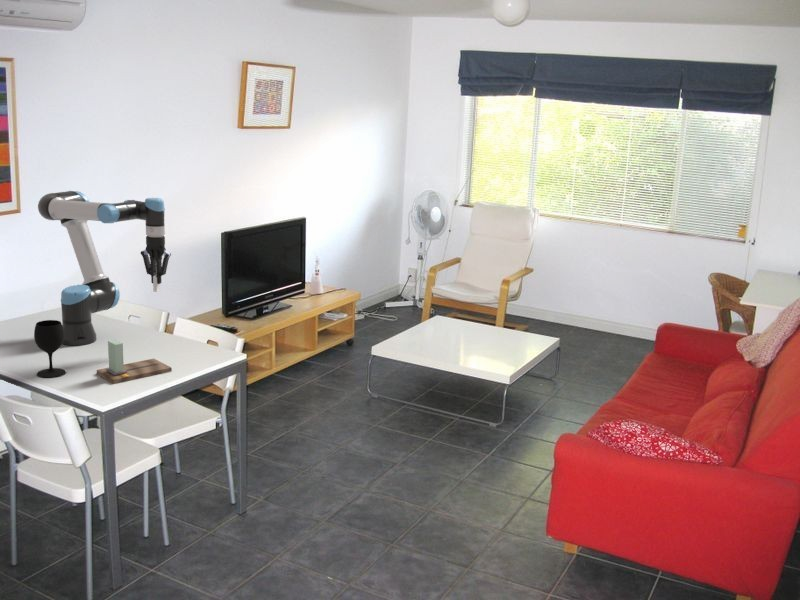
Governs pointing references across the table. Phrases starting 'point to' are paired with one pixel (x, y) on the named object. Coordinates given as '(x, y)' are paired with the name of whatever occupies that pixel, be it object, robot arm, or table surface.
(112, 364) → the block
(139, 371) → the brown wooden board
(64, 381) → the table surface
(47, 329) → the wine glass
